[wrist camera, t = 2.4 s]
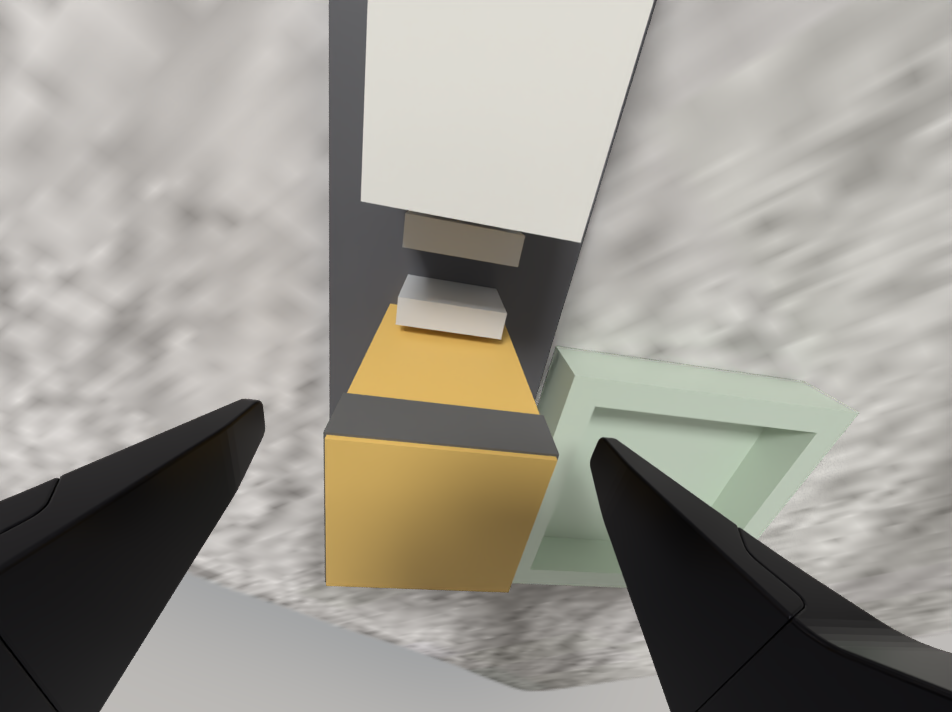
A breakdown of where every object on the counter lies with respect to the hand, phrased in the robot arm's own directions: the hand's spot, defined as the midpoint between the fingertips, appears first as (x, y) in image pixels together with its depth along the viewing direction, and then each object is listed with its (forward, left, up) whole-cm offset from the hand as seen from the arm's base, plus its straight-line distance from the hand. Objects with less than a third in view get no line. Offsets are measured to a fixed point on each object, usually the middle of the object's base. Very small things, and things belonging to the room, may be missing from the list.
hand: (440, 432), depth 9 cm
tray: (-11, +6, -6) cm, 14 cm away
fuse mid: (0, -7, -4) cm, 9 cm away
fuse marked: (0, 0, -4) cm, 4 cm away
